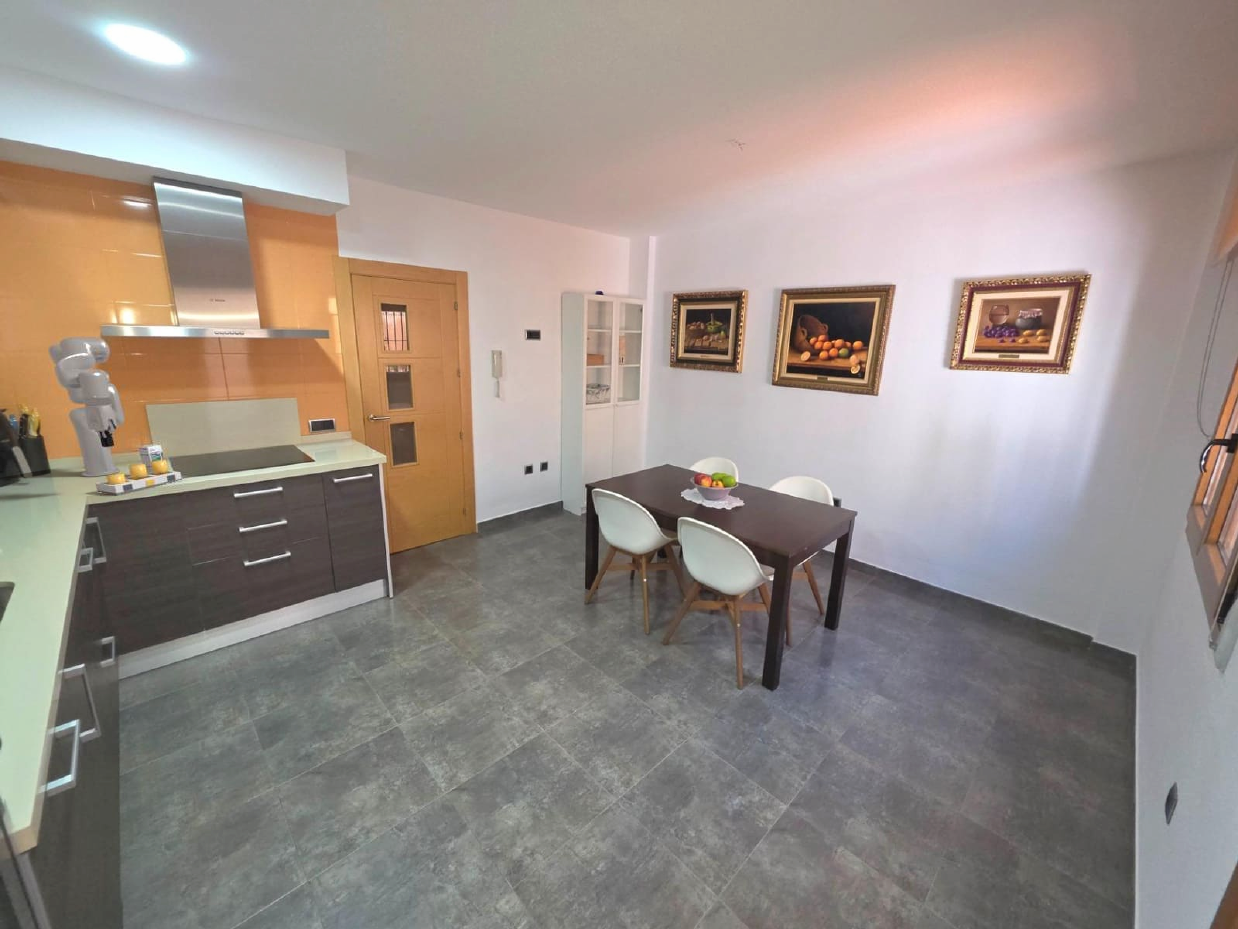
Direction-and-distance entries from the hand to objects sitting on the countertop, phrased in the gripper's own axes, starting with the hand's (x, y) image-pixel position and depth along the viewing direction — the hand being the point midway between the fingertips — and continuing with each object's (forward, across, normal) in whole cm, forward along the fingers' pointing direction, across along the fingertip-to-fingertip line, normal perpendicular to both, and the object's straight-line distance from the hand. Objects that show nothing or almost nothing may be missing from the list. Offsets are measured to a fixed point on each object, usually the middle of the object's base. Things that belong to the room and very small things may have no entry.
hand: (108, 446), depth 203 cm
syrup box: (+20, -13, +22) cm, 32 cm away
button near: (+18, +1, 0) cm, 18 cm away
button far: (+16, +1, +16) cm, 22 cm away
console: (+20, +1, +8) cm, 21 cm away
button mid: (+16, +1, +8) cm, 18 cm away
